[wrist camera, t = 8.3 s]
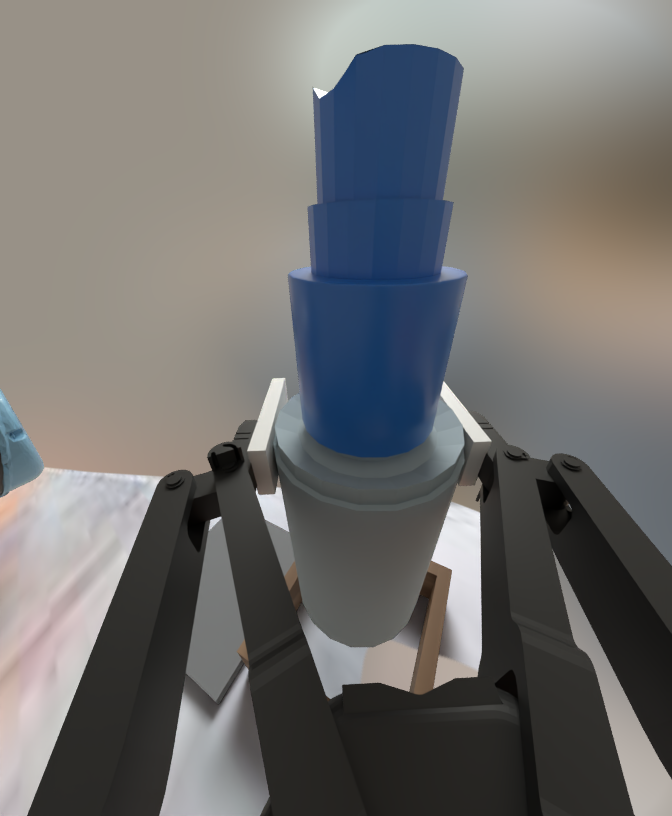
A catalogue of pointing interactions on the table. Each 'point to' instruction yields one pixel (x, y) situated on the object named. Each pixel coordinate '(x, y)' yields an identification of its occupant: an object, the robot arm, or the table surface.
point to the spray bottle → (374, 347)
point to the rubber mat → (223, 614)
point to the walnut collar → (432, 629)
